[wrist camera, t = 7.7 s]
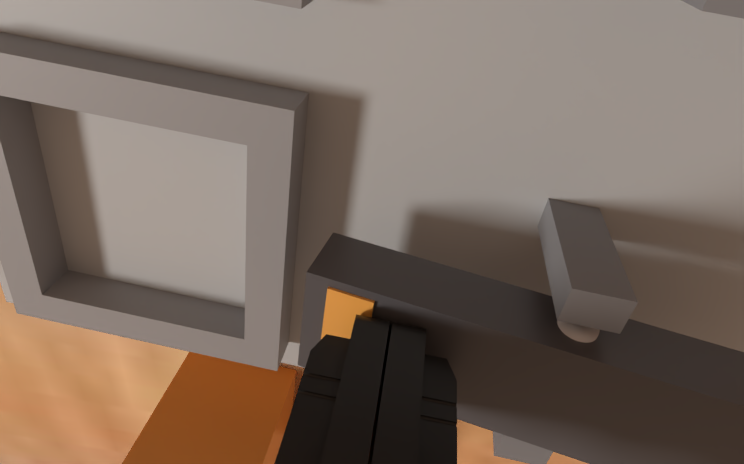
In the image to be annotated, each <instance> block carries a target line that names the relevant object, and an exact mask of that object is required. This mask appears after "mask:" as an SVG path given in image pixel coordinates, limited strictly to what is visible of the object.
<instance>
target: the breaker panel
mask: <svg viewBox="0 0 744 464" xmlns="http://www.w3.org/2000/svg"><path fill="white" fill-rule="evenodd" d="M333 232H334V233H337V234H341V235H344V236H347V237H351V238H354V239H358V240H361V241H365V242H368V243H371V244H375V245H378V246H382V247H385V248H389V249H392V250H395V251H399V252H402V253H406V254H409V255H413V256H416V257H419V258H423V259H426V260H430V261H433V262H436V263H440V264H443V265H447V266H450V267H454V268H457V269H460V270H464V271H467V272H471V273H474V274H478V275H481V276H484V277H488V278H491V279H495V280H498V281H502V282H505V283H508V284H512V285H515V286H519V287H522V288H525V289H529V290H532V291H536V292H539V293H543V294H546V295H549V296H552V299H553V303H554V308H555V313H556V318H557V321H562V322H566V323H571V324H576V325H581V326H585V327H590V328H595V329H599V330H604V331H609V332H614V333H618V334H620V333H621V331H622V330H623V328H624V326H625V324H626V323H627V321H628V319H632V320H635V321H638V322H642V323H645V324H649V325H652V326H656V327H659V328H662V329H666V330H669V331H673V332H676V333H680V334H683V335H686V336H690V337H693V338H697V339H700V340H703V341H707V342H710V343H714V344H717V345H721V346H724V347H727V348H731V349H734V350H738V351H741V352H744V0H0V283H1V286H2V289H3V292H4V295H5V298H6V302H11V303H14V306H15V309H16V312H17V313H18V314H23V315H27V316H32V317H36V318H41V319H45V320H50V321H54V322H59V323H63V324H68V325H72V326H77V327H81V328H86V329H90V330H95V331H99V332H104V333H108V334H113V335H117V336H122V337H126V338H131V339H135V340H140V341H144V342H149V343H153V344H158V345H162V346H167V347H171V348H175V349H180V350H184V351H189V352H193V353H198V354H202V355H207V356H211V357H216V358H220V359H225V360H229V361H234V362H238V363H243V364H247V365H252V366H256V367H261V368H265V369H270V370H274V371H278V368H279V366H280V363H286V364H290V365H295V366H299V365H298V355H299V345H300V335H301V324H302V314H303V304H304V293H305V283H306V273H307V271H308V269H309V268H310V266H311V265H312V263H313V262H314V260H315V259H316V257H317V256H318V254H319V253H320V251H321V250H322V248H323V247H324V245H325V244H326V242H327V241H328V239H329V238H330V236H331V235H332V233H333ZM299 367H302V366H299ZM304 368H305V367H304ZM493 444H494V456H498V457H503V458H507V459H512V460H516V461H520V462H525V463H529V464H546V463H547V461H548V460H549V458H550V456H551V454H552V453H553V451H550V450H547V449H544V448H541V447H538V446H535V445H532V444H530V443H527V442H524V441H521V440H518V439H515V438H512V437H509V436H506V435H503V434H500V433H497V432H494V431H493Z"/></svg>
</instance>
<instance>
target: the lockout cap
mask: <svg viewBox="0 0 744 464" xmlns="http://www.w3.org/2000/svg"><path fill="white" fill-rule="evenodd" d="M295 377H296V370H294V369H289V368H285V367H280V366H279V368H278V371H274V370H270V369H265V368H261V367H256V366H252V365H247V364H243V363H238V362H234V361H229V360H225V359H220V358H216V357H211V356H207V355H202V354H198V353H193V352H189V354H188V355H187V357H186V359H185V360H184V362H183V364H182V365H181V367H180V368H179V370H178V372H177V373H176V375H175V377H174V378H173V380H172V382H171V383H170V385H169V387H168V388H167V390H166V392H165V393H164V395H163V397H162V398H161V400H160V402H159V403H158V405H157V407H156V408H155V410H154V412H153V413H152V415H151V417H150V418H149V420H148V422H147V423H146V425H145V427H144V428H143V430H142V432H141V433H140V435H139V437H138V438H137V440H136V442H135V443H134V445H133V447H132V448H131V450H130V452H129V453H128V455H127V456H126V458H125V460H124V461H123V463H122V464H274V463H275V460H276V457H277V454H278V451H279V448H280V445H281V442H282V439H283V435H284V432H285V429H286V426H287V423H288V420H289V417H290V413H291V410H292V407H293V398H294V387H295Z"/></svg>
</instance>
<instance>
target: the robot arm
mask: <svg viewBox="0 0 744 464" xmlns="http://www.w3.org/2000/svg"><path fill="white" fill-rule="evenodd" d="M389 323H390V321H386V320H381V319H376V318H371V317H366V316H362V315H357V314H356V317H355V321H354V325H353V329H352V334H351V338H350V339H348V338H343V337H338V336H333V335H328V334H326V335H325V336H324V337H323V338H322V339H321V340H320V341H319V342H318V343H317V344H316V345H315V346H314V347H313V348H312V349H311V351H310V354H309V357H308V360H307V363H306V366H305V369H304V373H303V376H302V379H301V382H300V385H299V388H298V393H297V395H296V398H295V401H294V404H293V407H292V410H291V413H290V417H289V420H288V423H287V426H286V429H285V432H284V435H283V439H282V442H281V445H280V448H279V451H278V454H277V457H276V460H275V463H274V464H457V427H456V424H457V408H456V405H457V380H456V378H455V375H454V373H453V371H452V369H451V367H450V365H449V362H448V360H447V359H446V358H441V357H436V356H431V355H426V354H425V344H426V328H421V327H416V326H411V325H406V324H401V323H397V322H392V324H391V328H390V332H389V336H388V330H389ZM387 336H388V341H387ZM386 343H387V345H386Z"/></svg>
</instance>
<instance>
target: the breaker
mask: <svg viewBox="0 0 744 464" xmlns="http://www.w3.org/2000/svg"><path fill="white" fill-rule="evenodd" d="M356 314H357V315H362V316H366V317H371V318H376V319H381V320H386V321H390V323H389V330H388V336H389V332H390V328H391V324H392V322H397V323H401V324H406V325H411V326H416V327H421V328H426V344H425V354H426V355H431V356H436V357H441V358H446V359H447V360H448V362H449V365H450V367H451V369H452V371H453V373H454V375H455V378H456V380H457V405H456V408H457V419H459V420H462V421H464V422H467V423H470V424H473V425H476V426H479V427H482V428H485V429H488V430H491V431H494V432H497V433H500V434H503V435H506V436H509V437H512V438H515V439H518V440H521V441H524V442H527V443H530V444H532V445H535V446H538V447H541V448H544V449H547V450H550V451H553V452H556V453H559V454H562V455H565V456H568V457H571V458H574V459H577V460H580V461H583V462H586V463H589V464H744V352H741V351H738V350H734V349H731V348H727V347H724V346H721V345H717V344H714V343H710V342H707V341H703V340H700V339H697V338H693V337H690V336H686V335H683V334H680V333H676V332H673V331H669V330H666V329H662V328H659V327H656V326H652V325H649V324H645V323H642V322H638V321H635V320H632V319H628V321H627V323H626V324H625V326H624V328H623V330H622V331H621V333H620V334H618V333H614V332H609V331H604V330H599V329H595V328H590V327H585V326H581V325H576V324H571V323H566V322H562V321H557V318H556V313H555V308H554V303H553V299H552V296H549V295H546V294H543V293H539V292H536V291H532V290H529V289H525V288H522V287H519V286H515V285H512V284H508V283H505V282H502V281H498V280H495V279H491V278H488V277H484V276H481V275H478V274H474V273H471V272H467V271H464V270H460V269H457V268H454V267H450V266H447V265H443V264H440V263H436V262H433V261H430V260H426V259H423V258H419V257H416V256H413V255H409V254H406V253H402V252H399V251H395V250H392V249H389V248H385V247H382V246H378V245H375V244H371V243H368V242H365V241H361V240H358V239H354V238H351V237H347V236H344V235H341V234H337V233H334V232H333V233H332V235H331V236H330V238H329V239H328V241H327V242H326V244H325V245H324V247H323V248H322V250H321V251H320V253H319V254H318V256H317V257H316V259H315V260H314V262H313V263H312V265H311V266H310V268H309V269H308V271H307V273H306V283H305V293H304V304H303V314H302V324H301V335H300V345H299V355H298V365H299V366H302V367H305V366H306V363H307V360H308V357H309V354H310V351H311V349H312V348H313V347H314V346H315V345H316V344H317V343H318V342H319V341H320V340H321V339H322V338H323V337H324V336H325V335H326V334H328V335H333V336H338V337H343V338H348V339H350V338H351V334H352V329H353V325H354V321H355V317H356ZM388 336H387V341H388ZM386 345H387V343H386Z"/></svg>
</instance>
